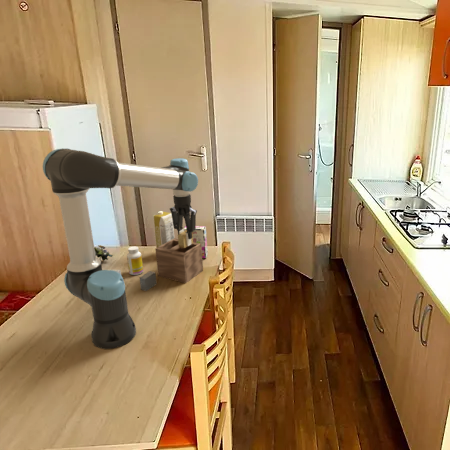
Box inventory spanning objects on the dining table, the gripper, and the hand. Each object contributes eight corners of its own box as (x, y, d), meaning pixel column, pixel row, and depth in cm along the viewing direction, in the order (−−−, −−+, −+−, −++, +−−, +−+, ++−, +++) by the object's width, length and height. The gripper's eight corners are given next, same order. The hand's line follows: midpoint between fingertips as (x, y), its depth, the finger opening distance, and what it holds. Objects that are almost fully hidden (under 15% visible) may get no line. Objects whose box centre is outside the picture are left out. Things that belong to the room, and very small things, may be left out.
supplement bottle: (146, 271, 179) (143, 246, 175) (136, 276, 174) (133, 251, 170) (136, 268, 183) (133, 244, 178) (126, 273, 177) (122, 249, 173)
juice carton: (167, 250, 203) (163, 208, 195) (178, 253, 198) (174, 210, 190) (155, 256, 195) (150, 213, 187) (165, 259, 191) (161, 215, 183)
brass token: (184, 248, 165) (183, 235, 163) (178, 247, 167) (177, 234, 165) (193, 242, 171) (192, 230, 169) (188, 241, 172) (187, 229, 170)
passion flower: (105, 269, 195) (116, 251, 193) (95, 275, 184) (107, 256, 182) (87, 257, 195) (98, 239, 193) (77, 263, 184) (88, 243, 182)
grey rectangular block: (146, 291, 161) (144, 278, 159) (141, 289, 162) (139, 277, 160) (156, 284, 167) (155, 272, 165) (151, 282, 168) (150, 270, 166)
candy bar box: (208, 255, 194) (206, 225, 189) (206, 259, 190) (204, 229, 184) (187, 254, 196) (185, 225, 191) (185, 258, 192) (182, 228, 186)
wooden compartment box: (185, 283, 166) (183, 254, 162) (158, 275, 174) (155, 248, 169) (203, 270, 177) (201, 243, 173) (176, 264, 185) (174, 238, 181)
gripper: (202, 194, 160) (205, 244, 168) (172, 190, 168) (176, 238, 175) (191, 198, 154) (195, 250, 162) (161, 194, 162) (166, 244, 169)
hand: (185, 244), depth 168 cm, fingers closed on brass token, 3 cm apart
